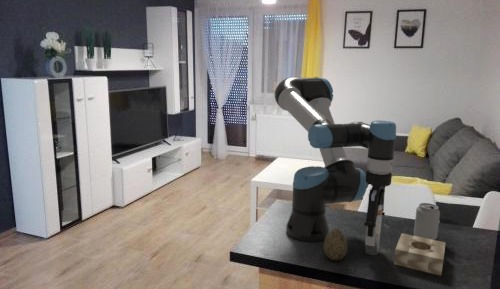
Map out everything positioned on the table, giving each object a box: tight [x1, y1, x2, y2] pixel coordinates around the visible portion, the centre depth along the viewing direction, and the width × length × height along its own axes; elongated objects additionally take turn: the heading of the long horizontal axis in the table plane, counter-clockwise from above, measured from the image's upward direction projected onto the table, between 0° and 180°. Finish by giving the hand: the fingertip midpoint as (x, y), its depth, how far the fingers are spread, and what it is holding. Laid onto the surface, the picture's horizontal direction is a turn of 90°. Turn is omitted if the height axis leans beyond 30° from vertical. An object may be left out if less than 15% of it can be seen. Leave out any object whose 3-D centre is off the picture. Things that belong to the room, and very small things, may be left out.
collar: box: [393, 232, 446, 277], centre depth 120 cm, size 13×13×5 cm
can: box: [413, 202, 441, 240], centre depth 136 cm, size 8×8×12 cm
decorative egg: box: [323, 228, 348, 262], centre depth 119 cm, size 7×7×10 cm
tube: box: [364, 205, 383, 256], centre depth 124 cm, size 4×4×16 cm
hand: (372, 239), depth 124 cm, fingers open, 9 cm apart
